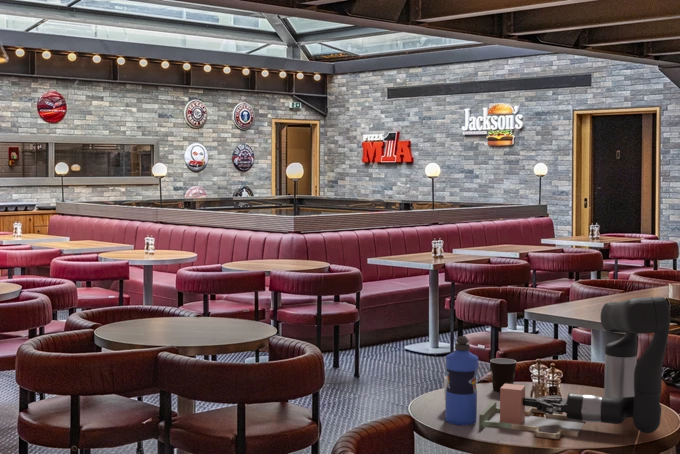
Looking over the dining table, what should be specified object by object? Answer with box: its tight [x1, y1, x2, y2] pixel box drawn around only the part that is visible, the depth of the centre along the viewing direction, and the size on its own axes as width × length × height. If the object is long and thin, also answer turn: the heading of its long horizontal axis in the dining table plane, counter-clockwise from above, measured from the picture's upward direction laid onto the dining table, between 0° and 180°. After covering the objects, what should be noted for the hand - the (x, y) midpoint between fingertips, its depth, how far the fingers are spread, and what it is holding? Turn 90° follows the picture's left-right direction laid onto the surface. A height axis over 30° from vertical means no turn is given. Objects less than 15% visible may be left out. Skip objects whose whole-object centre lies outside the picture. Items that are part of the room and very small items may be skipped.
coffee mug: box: [489, 357, 517, 394], centre depth 295 cm, size 12×9×10 cm
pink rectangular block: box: [499, 384, 526, 424], centre depth 255 cm, size 6×6×10 cm
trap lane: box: [478, 400, 585, 440], centre depth 253 cm, size 27×25×4 cm
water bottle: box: [444, 335, 479, 426], centre depth 257 cm, size 9×9×25 cm
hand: (523, 401), depth 254 cm, fingers closed
